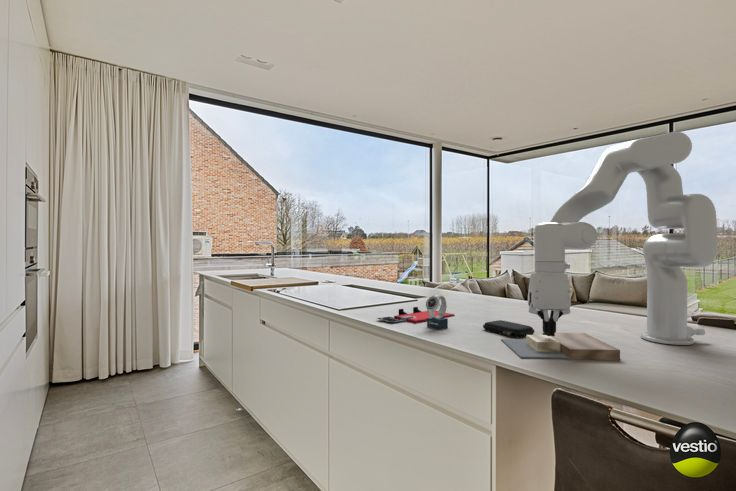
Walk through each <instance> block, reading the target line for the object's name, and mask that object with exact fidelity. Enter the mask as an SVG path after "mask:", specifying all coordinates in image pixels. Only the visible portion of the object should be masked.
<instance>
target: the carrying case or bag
mask: <svg viewBox="0 0 736 491" xmlns="http://www.w3.org/2000/svg"><path fill="white" fill-rule="evenodd" d="M482 328H483V329H484V330H485V331H487V332H490V333H494V334H499V335H503V336H507V337H510V338H514V339H519V338H524V337H525V338H526V335H534V333H535V329H534V328H533V326H530V325H526V324H522V323H517V322H511V321H507V320H501V319H499V320H492V321H486V322H485V323H484V324H483V325H482Z"/></svg>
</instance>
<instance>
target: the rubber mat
mask: <svg viewBox="0 0 736 491" xmlns="http://www.w3.org/2000/svg"><path fill="white" fill-rule="evenodd" d="M500 340H501V342H502V343H504V344H505V346H506V347H508V348H509V349H510V350H511V351H513V353H514V354H516V355H517V357H519V358H520V359H538V360H539V359H540V360H541V359H542V360H543V359H544V360H545V359H546V360H571V359H570V357H569V356H567V355H565V354H564V353H562V352H561V351H560V352H537V351H536V350H534V349H533V348H532V347H530V346H529V345H527V344H526V338H524V339H522V338H521V339H519V338H500Z"/></svg>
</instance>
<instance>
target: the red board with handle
mask: <svg viewBox="0 0 736 491" xmlns="http://www.w3.org/2000/svg"><path fill="white" fill-rule="evenodd" d="M412 308H413V309H412V313H411V312H410V313H407V312H405V311H404V308H399V309H398V314H397V315H394V316H393V317H392V316H385V317H378V318H376V319H377V320H380V321H385V322H388V323H397V322H403V323H406V321H407V323H411V324H416V325H417V324H421V323H425V322H426V323H427V318H429V317H430V316H429V313H428V311H427V310H425V311H422V310H420V309H419V307H418V306H413V307H412ZM438 312H439V310H436V311H435V313H434V315H435V316H438ZM455 316H456V315H455V313H449V312H445V314H444V316H443V317H442V318H447V319H448V318H452V317H455Z"/></svg>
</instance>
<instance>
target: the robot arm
mask: <svg viewBox="0 0 736 491" xmlns="http://www.w3.org/2000/svg"><path fill="white" fill-rule="evenodd" d="M692 148H693V143H692V140H691V138H690V137H689V136H688V135H687V134H686V133H685V132H681V131H671V132H667V133H662V134H659V135H653V136H649V137H644V138H643V137H641V138H638V139H634V140H630V141H626V142H624V143H620V144H616V145H612V146H611V147H609V148H607V149H605V150H604V151H603V153H602V154H601V155H600V157H599V159H598V160H597V162H596V164H595V166H594V167H593V168H592V170H591V172H590V174H589V175H588V178H587V179H586V181H585V183H584V185H583V186H581V188H580V189H579V190H577V192H575V193H574V194H573V195H572V196H570V197H569V198H568V199H567V200H566V201H565V202H564V203H563V204H562V205H561V206H560V207H559V208H558V209H557V210H556V212H555V213H554V215H553V216H552V217H551V220H550V221H549V222H540V223H537V224H536V225H534V226H535V227H534V272H531V273H530V277H529V282H528V293H527V305H528V313H530V314H533V315H537V316H538V317H539V318H540V319H541V320H542V333H544V334H545V335H547V336H555V333H557V322H558V321H559V319H560V318H561V317H562V316H565V315H569V314H571V307H572V306H571V304H572V300H571V299H572V298H571V297H572V296H571V295H572V294H571V285H570V279H569V276H568V273H566V271H567V270H569V269H571V265H570V263H566V250H586V249H589V248H591V247H593V246H594V245H595V243H596V242H597V240H598V232H597V230H596V228H595V227H594V225H592V224H591V223H588V222H584V221H581V220H582V219H583V218H585V217H586V216H588V215H589V214H591V213H593V212H595V211H598V210H599V209H602V208H603V207H605V206H607V205H608V204H610V203H612V202H613V201H614V199H615V198H616V195H617V194H618V193H619V190H620V189H621V187H622V185H623V184H624V182H625V180H626V178H627V177H628V176H629V174H631V173H637V174H638V175H639V176H640V177H641V178H642V179H643V181H644V184H645V189H646V190H645V191H646V204H647V205H646V208H647V218H648V222H649V224H650V226H651V227H653V228H654V229H660V230H674V229H675V230H677V229H680V230H681V229H682V230H683V229H684V232H683V233H679V232H678V233H674V232H673V233H659V234H654V235H652V236H650V237H648V238H647V239H646V240H645V242H644V244H643V246H642V247H643V248H642V253H643V259H644V263H645V269H646V293H647V294H646V331H643V332H641V333H640V338H641V339H643V340H646V341H648V342H653V343H659V344H665V345H674V346H675V345H676V346H689V345H690V346H691V345H693V344H694V343H695V338H693V336H695V335H696V336H704V335H706V331H705V329H704V328H696V327H695V328H693V327H692V326H689V325H688V280H687V276H686V275H685V273H684V271H683V270H682V268H681V267H683V268H695V269H696V268H706V267H709V266H710V265H712V264H713V263H714V262H715V260H716V259H717V255H718V227H717V226H718V225H717V224H718V223H717V211H716V207H715V204H714V202H713V201H712V200H711V199H710V198H709V196H707V195H705V194H701V193H688V194H684V191H683V181H682V177H681V175H680V173H679V172H678V171H677V169H676V168H675V167H674V166H673V165H674V164H678V163H681V162H683V161H685V160H686V159H687V158H688V157H689V156H690V154H691V152H692ZM549 311H550V313H549Z"/></svg>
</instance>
